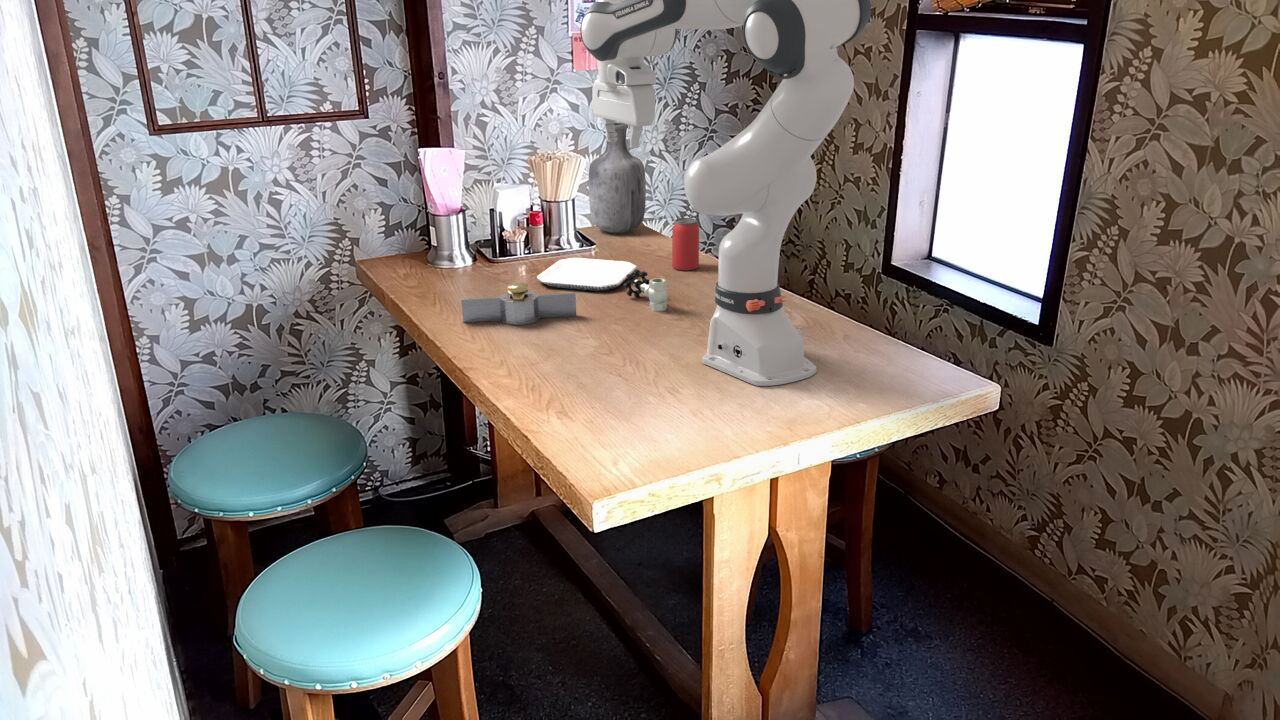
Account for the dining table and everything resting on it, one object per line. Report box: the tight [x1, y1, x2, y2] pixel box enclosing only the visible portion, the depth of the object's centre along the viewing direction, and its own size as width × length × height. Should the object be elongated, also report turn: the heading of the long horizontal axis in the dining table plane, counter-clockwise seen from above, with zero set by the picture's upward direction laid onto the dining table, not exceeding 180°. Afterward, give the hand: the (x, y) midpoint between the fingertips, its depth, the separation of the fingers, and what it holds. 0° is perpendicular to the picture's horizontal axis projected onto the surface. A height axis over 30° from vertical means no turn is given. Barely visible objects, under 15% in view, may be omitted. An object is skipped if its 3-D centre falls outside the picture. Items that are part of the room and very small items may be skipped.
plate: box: [536, 257, 638, 292], centre depth 229 cm, size 21×21×2 cm
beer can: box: [671, 217, 700, 272], centre depth 235 cm, size 7×7×12 cm
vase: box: [588, 121, 647, 234], centre depth 266 cm, size 16×16×30 cm
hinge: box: [460, 290, 577, 326], centre depth 202 cm, size 24×8×5 cm, turn 98°
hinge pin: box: [506, 282, 529, 299], centre depth 203 cm, size 4×4×7 cm
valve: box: [623, 268, 669, 312], centre depth 211 cm, size 7×7×12 cm
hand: (622, 144), depth 189 cm, fingers open, 8 cm apart
